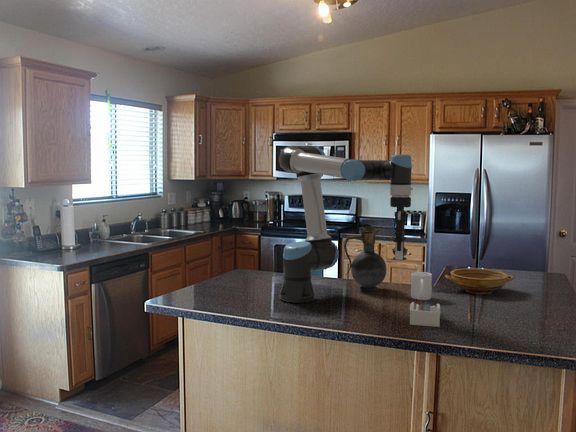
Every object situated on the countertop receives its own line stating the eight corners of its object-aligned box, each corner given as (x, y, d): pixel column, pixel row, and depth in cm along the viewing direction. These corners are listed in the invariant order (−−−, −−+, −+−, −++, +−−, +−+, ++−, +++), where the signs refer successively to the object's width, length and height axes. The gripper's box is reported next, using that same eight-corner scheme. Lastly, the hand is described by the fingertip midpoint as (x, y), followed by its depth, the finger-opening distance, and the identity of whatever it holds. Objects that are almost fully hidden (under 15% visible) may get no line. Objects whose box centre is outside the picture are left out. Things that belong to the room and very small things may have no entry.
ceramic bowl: (451, 297, 220) (452, 278, 219) (438, 284, 244) (438, 267, 243) (523, 298, 218) (524, 279, 218) (503, 285, 242) (503, 268, 242)
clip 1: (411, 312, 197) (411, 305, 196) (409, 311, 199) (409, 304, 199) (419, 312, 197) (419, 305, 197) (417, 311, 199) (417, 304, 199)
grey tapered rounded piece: (389, 257, 198) (390, 226, 197) (405, 257, 199) (405, 226, 198) (394, 260, 193) (394, 228, 192) (409, 260, 193) (410, 228, 192)
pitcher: (388, 292, 229) (389, 224, 227) (344, 292, 229) (345, 224, 227) (383, 286, 240) (384, 221, 237) (342, 286, 240) (342, 222, 238)
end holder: (409, 324, 182) (409, 310, 181) (411, 315, 193) (411, 302, 193) (439, 326, 179) (439, 312, 179) (439, 317, 191) (439, 303, 190)
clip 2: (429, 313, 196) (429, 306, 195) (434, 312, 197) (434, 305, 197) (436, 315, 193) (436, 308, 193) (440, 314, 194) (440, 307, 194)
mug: (433, 303, 211) (433, 278, 210) (412, 302, 212) (412, 277, 211) (430, 296, 223) (430, 272, 222) (410, 295, 224) (410, 271, 223)
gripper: (409, 197, 184) (408, 262, 186) (412, 195, 202) (411, 254, 204) (388, 197, 186) (387, 261, 188) (392, 194, 204) (391, 253, 206)
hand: (399, 257), depth 196 cm, fingers closed on grey tapered rounded piece, 6 cm apart
